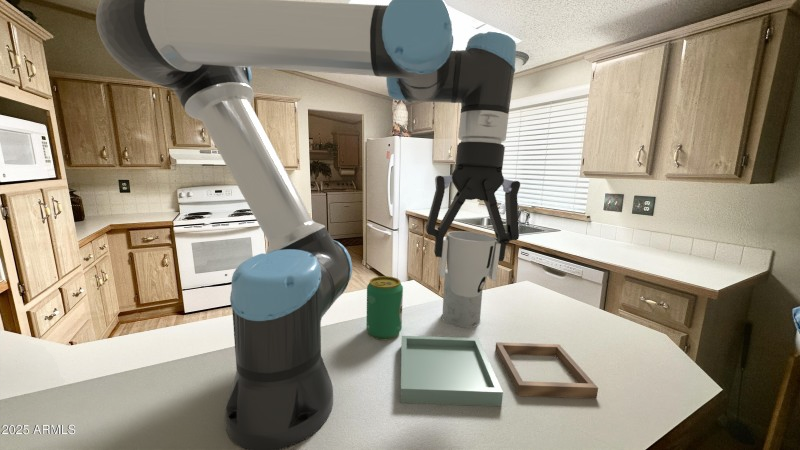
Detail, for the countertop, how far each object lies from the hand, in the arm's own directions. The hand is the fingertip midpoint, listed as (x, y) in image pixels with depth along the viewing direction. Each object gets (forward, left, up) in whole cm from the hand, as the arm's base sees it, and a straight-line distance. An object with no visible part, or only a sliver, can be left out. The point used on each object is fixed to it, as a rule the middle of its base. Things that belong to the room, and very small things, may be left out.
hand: (466, 276), depth 54 cm
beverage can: (-15, +14, -19) cm, 28 cm away
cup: (0, 0, -3) cm, 3 cm away
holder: (+15, +1, -18) cm, 24 cm away
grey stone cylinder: (+4, +22, -19) cm, 29 cm away
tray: (-3, 0, -18) cm, 19 cm away
